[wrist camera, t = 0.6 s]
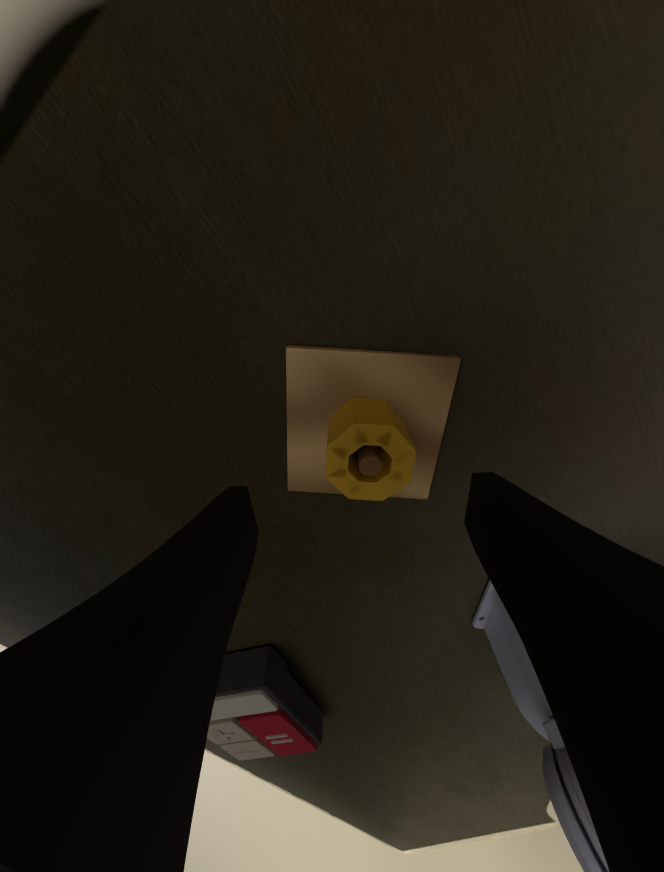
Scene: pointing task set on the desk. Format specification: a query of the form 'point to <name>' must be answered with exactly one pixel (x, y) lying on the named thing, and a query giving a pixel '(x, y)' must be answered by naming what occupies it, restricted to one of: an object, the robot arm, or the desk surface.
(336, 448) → the sleeve
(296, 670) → the desk surface
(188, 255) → the desk surface
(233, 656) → the calculator
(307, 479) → the stand
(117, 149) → the desk surface
